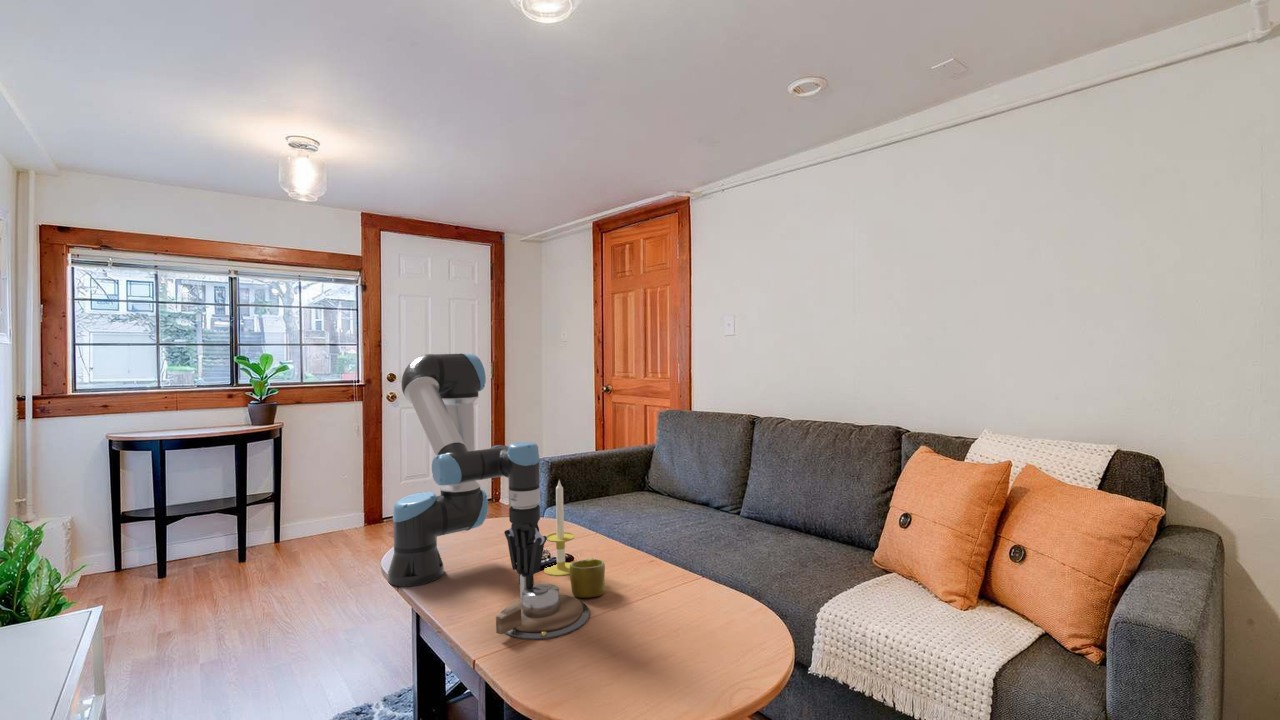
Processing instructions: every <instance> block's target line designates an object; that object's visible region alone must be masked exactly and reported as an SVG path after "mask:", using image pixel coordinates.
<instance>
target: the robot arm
mask: <svg viewBox="0 0 1280 720" xmlns="http://www.w3.org/2000/svg"><path fill="white" fill-rule="evenodd" d="M486 379H487V377H486V370H485V367H484V364H483V362H482V360H481V359H480V358H479V357H478V356H477V355H475V354H471V353H462V352H461V353H436V354H435V353H428V354H427V353H426V354H423V355H420V356H418V357H416V358H414V359H412V361H410V362H409V364H408V365H407V366H406V368H405V369H404V371H403V374H402V377H401V391H402V393H403V395H404V398H405V400H406V401H407V402H408V403H410V404H412V406H413V408H414V411H415V413H416V415H417V417H418V420H419V422H420V424H421V426H422V428H423V430H424V433H425V436H426V437H427V439H428V441H429V443H430V446H431V448H432V450H433V453H434V455H435V456H434V458H433V459H432V462H431V474H432V478H433V481H434V482H435V484H437V485H438V486H441V487H440V495H436V493H435V492H432V491H424V492H418V493H417V492H416V493H412V494H409V495H406V496H404V497H401V498H400V499H399V500H397V501H396V502H395V503H394V505H393V512H392V514H393V515H392V522H393V556H392V558H391V562H390V565H389V568H388V572H387V582H388V583H389V584H390V585H391V586H392V585H393V586H397V587H414V586H421V585H424V584H425V585H426V584H428V583H431V582H432V583H433V582H434V581H436V580H439V579H440V578H442V576H443V575H444V574H445V570H444V569H445V567H444V563H443V560H442V557H441V554H440V552H439V549H438V541H437V540H438V538H437V537H440V536H446V535H450V534H451V535H452V534H454V533H461V532H463V531H464V532H466V531H470V530H473V529H476V528H479V527H481V526H482V525H483V524H484V522H485V521H486V519H487V515H488V511H489V499H488V498H487V497H488V494H487V493H486V491H485V490H484V488H483V489H482V488H481V484H480V483H479V482H478V481H480V480H481V481H483V480H490V479H493V478H494V479H495V478H501V477H505V478H508V504H509V506H510V507H509V508H508V510H509V511H508V514H509V516H508V517H509V522H510V523H511V524H510V525H511V526H510V528H509V529H506V530H504V536H505V538H506V540H507V546H508V547H507V548H508V551H509V557H510V562H511V569H512V570H513V571H516V573H517V574H518V585H519V590H520V591H519V592H520V593H519V595H520V596H519V597H520V598H519V600H520V601H522V591H523V590H524V589H525V588H528V589H529V588H532V587H533V585H535V584H534V575H535V574H537V573H539V572H541V571H540V570H541V566H542V560H543V555H544V554H543V553H544V548H545V543H546V542H547V535H542V534H541V533H540V527H539V521H540V520H541V506H540V505H539V504H540V503H541V497H540V496H541V495H540V493H541V492H540V490H541V489H540V488H541V487H540V454H539V445H538V444H537V443H536V442H532V441H530V442H529V441H522V442H521V441H520V442H517V441H516V442H512V443H510V444H509V446H508V445H503V444H501V445H500V444H499V445H498V444H497V445H493V446H492V447H490V448H484V449H478V450H475V423H474V422H475V418H474V417H475V415H474V414H475V413H474V407H475V405H474V404H475V401H476V400H477V399H478V398H479V392H481V391H483V390H484V388H485V386H486V385H485V384H486V381H487V380H486Z"/></svg>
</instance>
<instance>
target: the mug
mask: <svg viewBox="0 0 1280 720" xmlns="http://www.w3.org/2000/svg"><path fill="white" fill-rule="evenodd" d="M570 563H571V564H570V574H569V578H570V587H571V592H572V595H573V597H574V598H580V599H590V598H595V597H600V596H603V594H604V592H605V590H606V589H605V588H606V586H605V570H606V565H605V562H604V561H603V560H602V559H596V558H593V557H588V558H586V559H581V560H576V561H573V562H570Z"/></svg>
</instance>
